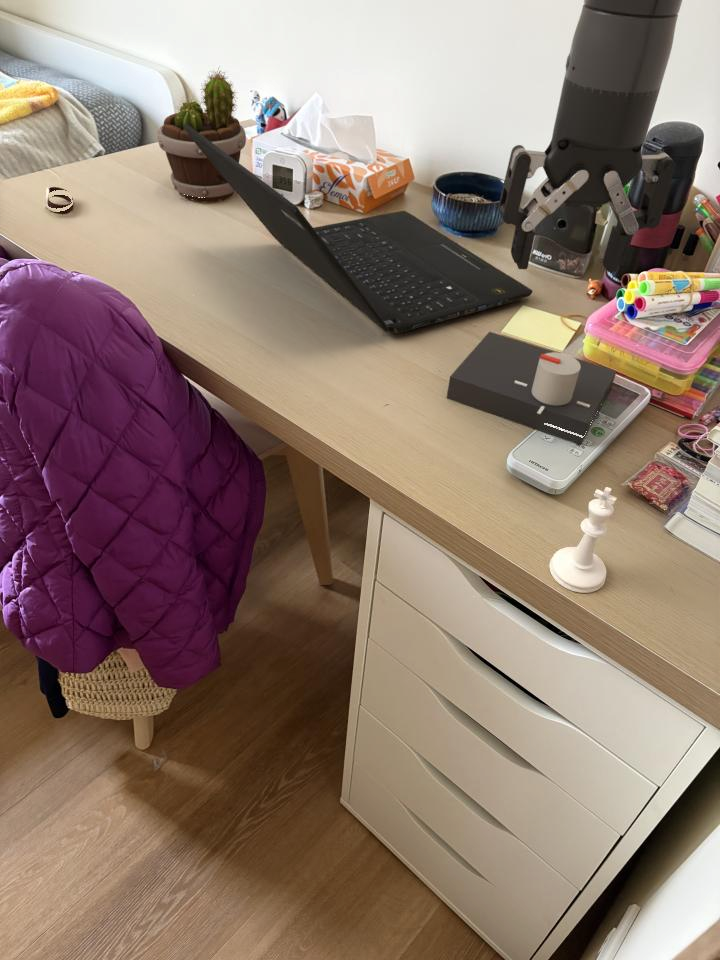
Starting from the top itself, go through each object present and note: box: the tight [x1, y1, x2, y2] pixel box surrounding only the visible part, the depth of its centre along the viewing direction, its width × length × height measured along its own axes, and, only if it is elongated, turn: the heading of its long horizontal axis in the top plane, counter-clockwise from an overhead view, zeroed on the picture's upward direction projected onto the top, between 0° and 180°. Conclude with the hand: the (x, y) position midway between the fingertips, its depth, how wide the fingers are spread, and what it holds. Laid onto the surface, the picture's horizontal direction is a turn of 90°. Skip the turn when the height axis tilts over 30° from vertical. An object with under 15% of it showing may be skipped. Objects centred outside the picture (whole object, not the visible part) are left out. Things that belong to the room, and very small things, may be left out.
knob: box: [532, 351, 581, 406], centre depth 78 cm, size 4×4×4 cm
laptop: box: [184, 124, 533, 334], centre depth 97 cm, size 33×38×19 cm
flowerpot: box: [156, 65, 247, 203], centre depth 120 cm, size 14×15×20 cm
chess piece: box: [549, 486, 618, 594], centre depth 60 cm, size 5×5×10 cm
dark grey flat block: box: [446, 331, 618, 446], centre depth 83 cm, size 16×13×3 cm
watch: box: [44, 186, 74, 215], centre depth 117 cm, size 8×5×4 cm, turn 17°
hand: (565, 267), depth 68 cm, fingers open, 8 cm apart
